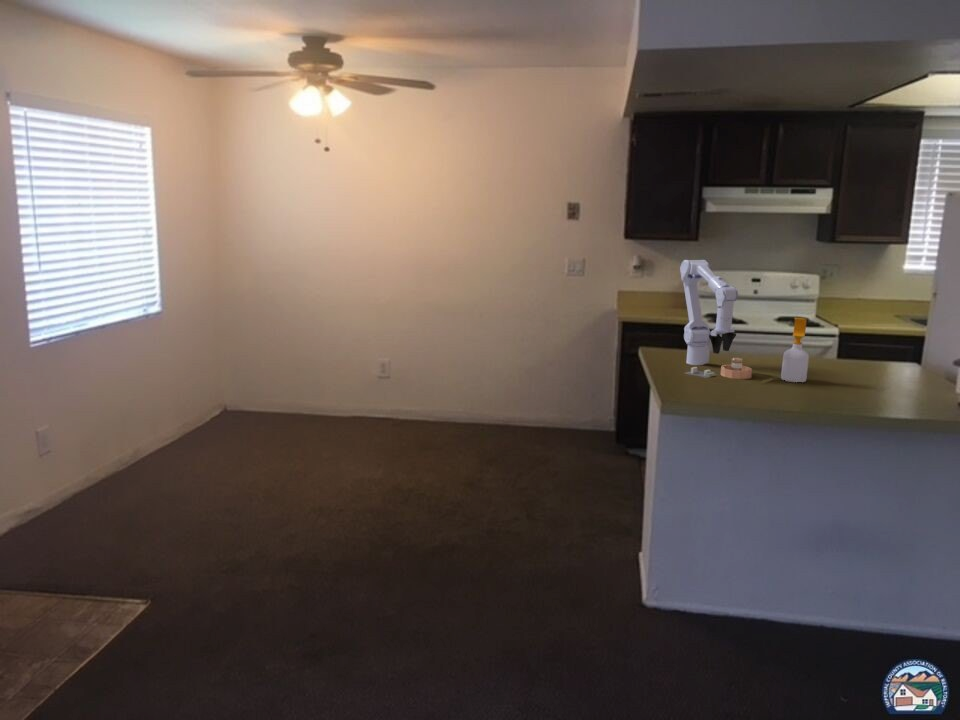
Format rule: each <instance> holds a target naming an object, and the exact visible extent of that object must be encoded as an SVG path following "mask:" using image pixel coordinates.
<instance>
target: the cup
mask: <svg viewBox="0 0 960 720" xmlns="http://www.w3.org/2000/svg"><path fill="white" fill-rule="evenodd" d="M720 366H721V367H720V376H722V377H724V378H729V379H733V380H736V379H737V380H747V379H748V380H749V379H752V374H753V373H752V372H753V368H751V367H749V366H745V365H742V371H735V370H731V364H723V365H720Z"/></svg>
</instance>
